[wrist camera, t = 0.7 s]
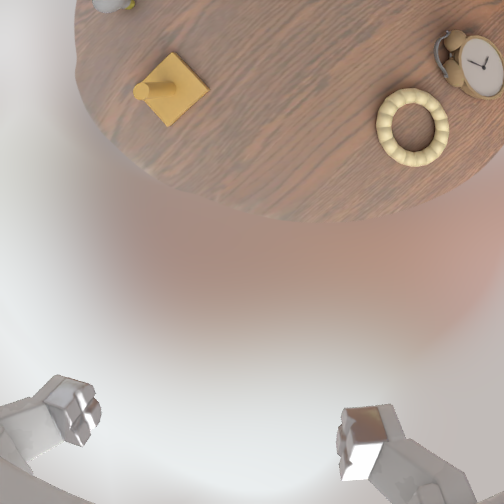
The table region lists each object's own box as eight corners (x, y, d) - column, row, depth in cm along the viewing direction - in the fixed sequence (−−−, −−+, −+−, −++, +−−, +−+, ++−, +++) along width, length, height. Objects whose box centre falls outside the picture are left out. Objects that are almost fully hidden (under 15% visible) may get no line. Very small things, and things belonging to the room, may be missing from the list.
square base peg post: (175, 52, 41) (144, 45, 32) (210, 89, 44) (186, 90, 34) (138, 89, 45) (101, 93, 35) (170, 125, 48) (140, 137, 38)
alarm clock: (505, 109, 34) (443, 83, 33) (487, 104, 39) (426, 81, 38) (509, 50, 29) (446, 16, 28) (491, 49, 33) (428, 19, 32)
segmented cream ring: (419, 75, 38) (425, 74, 36) (456, 140, 42) (462, 143, 40) (359, 113, 43) (362, 114, 41) (400, 178, 47) (404, 182, 45)
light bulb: (133, 23, 39) (101, 15, 30) (112, 12, 38) (79, 4, 29) (151, -2, 36) (122, -16, 28) (129, -12, 35) (99, -25, 27)
